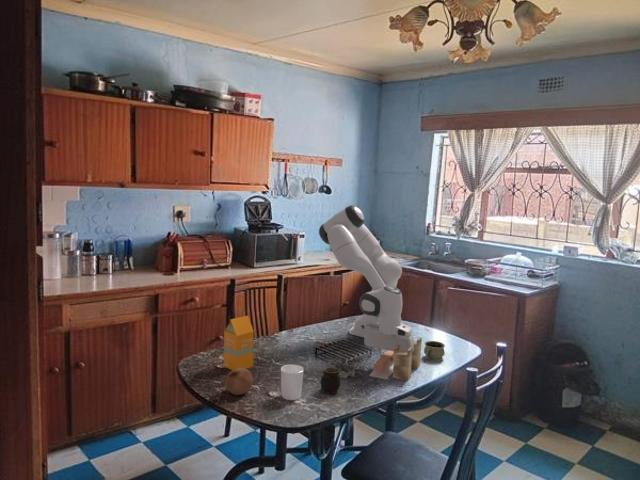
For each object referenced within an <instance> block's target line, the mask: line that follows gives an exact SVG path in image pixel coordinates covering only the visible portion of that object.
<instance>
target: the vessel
mask: <svg viewBox="0 0 640 480" xmlns="http://www.w3.org/2000/svg"><path fill="white" fill-rule="evenodd" d="M424 345H425V346H424V349H423V353H424V354H425V356H424V358H425V359H426V360H428V361H432V362H442V361H443V358H444V356H445V354H446V353H445V347H446V345H445V344H444V343H443V342H441V341H437V340H428V341H427V340H426V341H425V342H424Z"/></svg>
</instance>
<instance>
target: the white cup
mask: <svg viewBox="0 0 640 480" xmlns="http://www.w3.org/2000/svg"><path fill="white" fill-rule="evenodd" d="M303 379H304V367H303V366H301V365H298V364H285V365H283V366H281V368H280V389H281V398H282V399H284V400H287V401H297V400H299V399H301V397H302V390H303V381H304V380H303Z"/></svg>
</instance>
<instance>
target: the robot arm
mask: <svg viewBox="0 0 640 480" xmlns="http://www.w3.org/2000/svg"><path fill="white" fill-rule="evenodd" d="M364 223H365V216H364V213H363V212H362V210H361V209H360V208H359V207H358V206H357V205H353V204H351V205H348V206H346V207H345V208H344V209H342V210H339V212H337V213H335V214H334V215H333V216H332V217H330V218H329V219H328V220H326V221H325V222H323V223H322V225H320V226H319V229H318V235H319V237H320V239H321V240H322V242H324V243H325V244H326V245H329V246H330V249H331V250H332V254H333V256H334V258H335V260H337V261H336V262H337V263H338V264H339V265H340V266H341V267H342V268H344V269H346V270H351V271H355V272H356V273H359V274H360V275H362V276H364V278H365V279H366V280H367V282H368V283H369V285H370V287H371V291H368V292H365V293H363V294H362V295H361V296H360V298H359V303H358V304H359V308H360V310H361V312H362V313H363V314H362V315H360V316H359V317H357V319H355V321H354V325H353V326H352V327H351V328H350V329H349V331H348V333H349V335H352V336H357V337H360V338H364V339H363V340H364V341H363V343H364V345H365V347H369V348H370V347H371V348H375V349H377V352H378V354H379V356H380V357H379V359H380V358H381V357H382V356H383V355H384V354H385V353H384V352H383V350H385V351H388V350H390V351H394V348H395V347H396V346H397V345H400V350H401V351H406V352H407V350H408V349H409V348H410V347H412V348H413V349H412V352H413V351H414V341H415V339H414V336H413V334H412V333H413V328H412V327H411V326H409V325H407V324H405V323H403V322H402V317H401V314H402V310H403V294H402V291H401V289H399V288H398V287H397V285H398V281H399V279H401V277H402V275H403V268H402V266H401V264H400V263H399V262H398V261H397V260H396V259H394V258H392V257H390V256H389V255H387V254H386V252H385V251H384V249H383V248H382V246H381V245H380V242H379V241H378V239H377V238H376V237H375V236H374V234H373V233H372V232H371V231H370V230H369V228H368V227H367V226H366V225H365V224H364ZM391 361H393V362H394V356H392V357H391Z"/></svg>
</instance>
